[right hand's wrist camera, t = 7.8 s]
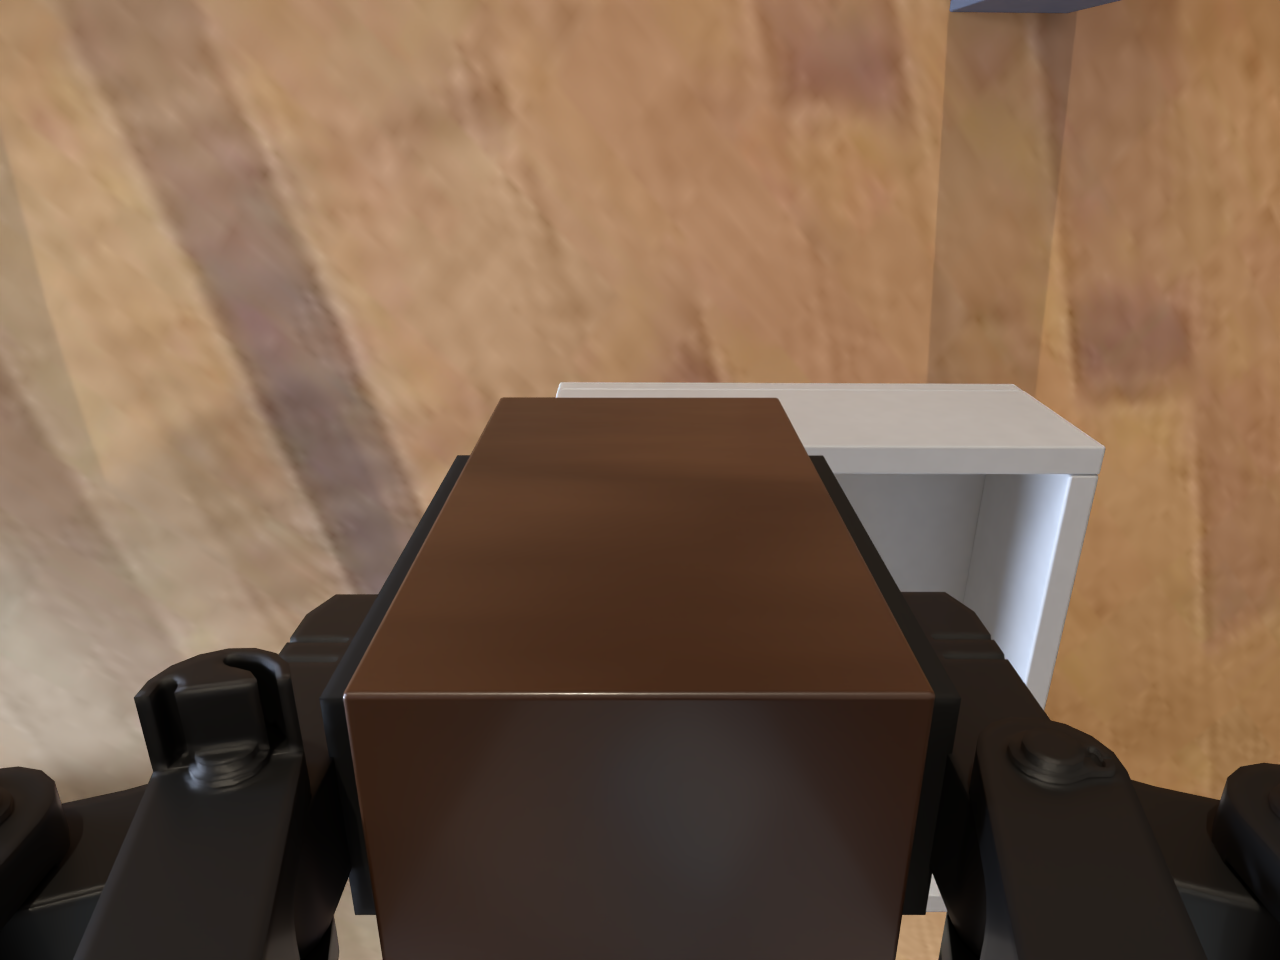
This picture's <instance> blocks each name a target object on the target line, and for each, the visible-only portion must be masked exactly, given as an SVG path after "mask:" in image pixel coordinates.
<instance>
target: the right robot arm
mask: <svg viewBox="0 0 1280 960" xmlns="http://www.w3.org/2000/svg"><path fill="white" fill-rule="evenodd" d="M808 456H809V457H810V459H811V461H812V463H813V465H814V467H815V469H816V471H817V473H818V474H819V476H820V478H821V480H822V482H823V484H824V486H825V488H826V489H827V491H828V493H829V495H830V497H831V499H832V501H833V503H834V505H835V506H836V508H837V510H838V512H839V514H840V516H841V518H842V520H843V522H844V523H845V525H846V527H847V529H848V531H849V533H850V535H851V537H852V539H853V540H854V542H855V544H856V546H857V548H858V550H859V552H860V554H861V556H862V557H863V559H864V561H865V563H866V565H867V567H868V569H869V571H870V573H871V574H872V576H873V578H874V580H875V582H876V584H877V586H878V588H879V589H880V591H881V593H882V595H883V597H884V599H885V601H886V603H887V605H888V606H889V608H890V610H891V612H892V614H893V616H894V618H895V620H896V622H897V623H898V625H899V627H900V629H901V631H902V633H903V635H904V637H905V639H906V640H907V642H908V644H909V646H910V648H911V650H912V652H913V654H914V656H915V657H916V659H917V661H918V663H919V665H920V667H921V669H922V671H923V673H924V674H925V676H926V678H927V680H928V682H929V684H930V686H931V688H932V689H933V691H934V694H935V701H934V708H933V714H932V721H931V727H930V734H929V741H928V747H927V754H926V760H925V767H924V774H923V780H922V787H921V793H920V800H919V807H918V813H917V820H916V826H915V833H914V840H913V846H912V853H911V859H910V866H909V873H908V879H907V886H906V892H905V899H904V906H903V912H902V915H925V914H926V908H927V902H928V896H929V890H930V884H931V878H932V874H933V876H934V879H935V881H936V884H937V886H938V889H939V892H940V894H941V897H942V899H943V902H944V904H945V907H946V909H947V914H946V920H945V926H944V931H943V937H942V942H941V948H940V954H939V959H938V960H1280V765H1278V764H1269V763H1260V764H1254V765H1248V766H1242V767H1240V768H1238V769H1237V770H1236V771H1235V772H1234V773H1232V774H1231V775H1230V776H1229V777H1228V778H1227V781H1226V784H1225V787H1224V790H1223V794H1222V797H1221V800H1216V799H1211V798H1207V797H1202V796H1197V795H1193V794H1188V793H1183V792H1179V791H1174V790H1169V789H1165V788H1160V787H1155V786H1152V785H1148V784H1144V783H1141V782H1137V781H1134V780H1131V779H1130V777H1129V775H1128V772H1127V770H1126V769H1125V768H1124V766H1123V765H1122V763H1121V762H1120V761H1119V759H1118V758H1117V756H1116V755H1115V754H1114V752H1112V751H1111V750H1110V749H1108V748H1107V747H1106V746H1104V745H1103V744H1102V743H1100V742H1099V741H1098V740H1096V739H1095V738H1094V737H1092V736H1090V735H1088V734H1086V733H1084V732H1082V731H1079V730H1077V729H1075V728H1073V727H1071V726H1068V725H1066V724H1063V723H1059V722H1055V721H1051V720H1050V719H1049V717H1048V716H1047V714H1046V713H1045V712H1044V710H1043V709H1042V707H1041V706H1040V704H1039V703H1038V702H1037V700H1036V699H1035V697H1034V696H1033V694H1032V693H1031V692H1030V690H1029V689H1028V687H1027V686H1026V684H1025V683H1024V682H1023V680H1022V679H1021V677H1020V676H1019V674H1018V673H1017V672H1016V670H1015V669H1014V667H1013V666H1012V664H1011V663H1010V662H1009V660H1008V659H1005V658H1004V653H1003V652H1002V650H1001V649H1000V647H999V646H998V645H997V643H996V642H995V640H991V635H990V633H989V632H988V630H987V629H986V627H985V626H984V625H983V623H982V622H981V620H980V619H979V617H978V616H977V615H976V613H975V612H974V611H973V610H971V609H970V608H968V607H967V606H965V605H964V604H962V603H961V602H959V601H958V600H956V599H955V598H953V597H952V596H951V595H949V594H948V593H946V592H901V591H900V590H899V588H898V586H897V584H896V583H895V581H894V579H893V577H892V576H891V574H890V572H889V570H888V568H887V567H886V565H885V563H884V561H883V560H882V558H881V556H880V554H879V553H878V551H877V549H876V547H875V546H874V544H873V542H872V540H871V539H870V537H869V535H868V533H867V532H866V530H865V528H864V526H863V525H862V523H861V521H860V519H859V518H858V516H857V514H856V512H855V511H854V509H853V507H852V505H851V504H850V502H849V500H848V498H847V496H846V495H845V493H844V491H843V489H842V488H841V486H840V484H839V482H838V481H837V479H836V477H835V475H834V474H833V472H832V470H831V468H830V467H829V465H828V463H827V461H826V460H825V458H824V456H823V455H808ZM469 457H470V455H457V457H456V459H455V461H454V462H453V464H452V466H451V468H450V469H449V471H448V473H447V475H446V476H445V478H444V480H443V482H442V483H441V485H440V487H439V489H438V491H437V492H436V494H435V496H434V498H433V499H432V501H431V503H430V505H429V506H428V508H427V510H426V512H425V513H424V515H423V517H422V519H421V520H420V522H419V524H418V526H417V527H416V529H415V531H414V533H413V534H412V536H411V538H410V540H409V541H408V543H407V545H406V547H405V549H404V550H403V552H402V554H401V556H400V557H399V559H398V561H397V563H396V564H395V566H394V568H393V570H392V571H391V573H390V575H389V577H388V578H387V580H386V582H385V584H384V585H383V587H382V589H381V591H380V592H379V594H378V595H335V596H333V597H332V598H330V599H329V600H327V601H326V602H324V603H323V604H321V605H320V606H318V607H317V608H315V609H314V610H313V611H311V612H310V613H308V614H307V615H306V616H305V617H304V619H303V620H302V622H301V623H300V625H299V626H298V628H297V629H296V630H295V632H294V633H293V635H292V636H291V638H290V643H286V645H285V646H284V648H283V649H282V651H281V652H280V653H279V655H278V654H277V653H273V652H269V651H265V650H261V649H257V648H233V649H224V650H219V651H215V652H210V653H205V654H200V655H197V656H195V657H192V658H190V659H187V660H185V661H182V662H180V663H177V664H175V665H172V666H170V667H169V668H167V669H166V670H164V671H163V672H161V673H159V674H158V675H156V676H155V677H153V678H152V679H150V680H149V681H148V682H147V683H146V684H145V685H144V686H143V688H142V689H141V690H140V691H139V692H138V693H137V695H136V696H135V697H134V700H135V704H136V708H137V711H138V715H139V719H140V723H141V727H142V731H143V734H144V738H145V742H146V746H147V750H148V753H149V757H150V761H151V765H152V769H153V774H152V776H151V778H150V781H149V783H148V784H146V785H142V786H139V787H135V788H132V789H128V790H124V791H119V792H115V793H110V794H105V795H101V796H96V797H91V798H87V799H82V800H77V801H73V802H68V803H63V804H61V801H60V797H59V794H58V791H57V788H56V785H55V782H54V781H53V780H52V779H51V778H50V777H49V776H47V775H46V774H45V773H44V772H43V771H42V770H36V769H30V768H24V767H10V768H1V769H0V960H338V957H339V945H338V938H337V931H336V926H335V920H334V913H335V910H336V908H337V905H338V903H339V900H340V898H341V895H342V892H343V890H344V887H345V885H346V882H347V880H348V877H349V881H350V887H351V893H352V899H353V905H354V911H355V915H376V911H375V905H374V898H373V892H372V885H371V878H370V872H369V865H368V859H367V852H366V846H365V839H364V832H363V826H362V819H361V813H360V806H359V800H358V793H357V786H356V780H355V773H354V767H353V760H352V754H351V747H350V740H349V734H348V727H347V721H346V714H345V708H344V701H343V694H344V691H345V689H346V688H347V686H348V684H349V682H350V680H351V678H352V676H353V674H354V673H355V671H356V669H357V667H358V665H359V663H360V661H361V659H362V658H363V656H364V654H365V652H366V650H367V648H368V646H369V644H370V643H371V641H372V639H373V637H374V635H375V633H376V631H377V629H378V628H379V626H380V624H381V622H382V620H383V618H384V616H385V614H386V613H387V611H388V609H389V607H390V605H391V603H392V601H393V599H394V598H395V596H396V594H397V592H398V590H399V588H400V586H401V584H402V583H403V581H404V579H405V577H406V575H407V573H408V571H409V569H410V568H411V566H412V564H413V562H414V560H415V558H416V556H417V554H418V553H419V551H420V549H421V547H422V545H423V543H424V541H425V539H426V538H427V536H428V534H429V532H430V530H431V528H432V526H433V524H434V523H435V521H436V519H437V517H438V515H439V513H440V511H441V509H442V508H443V506H444V504H445V502H446V500H447V498H448V496H449V494H450V493H451V491H452V489H453V487H454V485H455V483H456V481H457V479H458V478H459V476H460V474H461V472H462V470H463V468H464V466H465V464H466V463H467V461H468V459H469Z"/></svg>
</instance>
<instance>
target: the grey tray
mask: <svg viewBox="0 0 1280 960" xmlns="http://www.w3.org/2000/svg"><path fill="white" fill-rule="evenodd" d="M556 398H778V399H779V401H780V403H781V405H782V406H783V408H784V410H785V412H786V414H787V416H788V418H789V420H790V422H791V423H792V425H793V427H794V429H795V431H796V433H797V435H798V437H799V439H800V440H801V442H802V444H803V446H804V448H805V450H806V452H807V454H808V455H823V456H824V458H825V460H826V461H827V463H828V465H829V467H830V468H831V470H832V472H833V474H834V475H835V477H836V479H837V481H838V482H839V484H840V486H841V488H842V489H843V491H844V493H845V495H846V496H847V498H848V500H849V502H850V504H851V505H852V507H853V509H854V511H855V512H856V514H857V516H858V518H859V519H860V521H861V523H862V525H863V526H864V528H865V530H866V532H867V533H868V535H869V537H870V539H871V540H872V542H873V544H874V546H875V547H876V549H877V551H878V553H879V554H880V556H881V558H882V560H883V561H884V563H885V565H886V567H887V568H888V570H889V572H890V574H891V576H892V577H893V579H894V581H895V583H896V584H897V586H898V588H899V590H900V591H901V592H946V593H948V594H949V595H951V596H952V597H953V598H955V599H956V600H958V601H959V602H961V603H962V604H964V605H965V606H967V607H968V608H970V609H971V610H973V611H974V612H975V613H976V615H977V616H978V617H979V619H980V620H981V622H982V623H983V625H984V626H985V627H986V629H987V630H988V632H989V633H990V635H991V640H995V642H996V643H997V645H998V646H999V647H1000V649H1001V650H1002V652H1003V653H1004V658H1005V659H1008V660H1009V662H1010V663H1011V664H1012V666H1013V667H1014V669H1015V670H1016V672H1017V673H1018V674H1019V676H1020V677H1021V679H1022V680H1023V682H1024V683H1025V684H1026V686H1027V687H1028V689H1029V690H1030V692H1031V693H1032V694H1033V696H1034V697H1035V699H1036V700H1037V702H1038V703H1039V704H1040V706H1041V707H1042V709H1043V710H1044V709H1045V705H1046V701H1047V696H1048V692H1049V688H1050V683H1051V679H1052V675H1053V670H1054V666H1055V662H1056V658H1057V653H1058V649H1059V645H1060V640H1061V636H1062V632H1063V627H1064V623H1065V619H1066V614H1067V610H1068V606H1069V602H1070V597H1071V593H1072V589H1073V584H1074V580H1075V576H1076V571H1077V567H1078V563H1079V559H1080V554H1081V550H1082V546H1083V541H1084V537H1085V533H1086V528H1087V524H1088V520H1089V515H1090V511H1091V507H1092V503H1093V498H1094V494H1095V490H1096V485H1097V481H1098V475H1097V474H1099V473H1100V470H1101V465H1102V461H1103V457H1104V452H1105V446H1103V445H1102V444H1100V443H1099V442H1097V441H1096V440H1094V439H1093V438H1091V437H1090V436H1089V435H1087V434H1086V433H1084V432H1083V431H1081V430H1080V429H1078V428H1077V427H1076V426H1074V425H1073V424H1071V423H1070V422H1068V421H1067V420H1065V419H1064V418H1062V417H1061V416H1060V415H1058V414H1057V413H1055V412H1054V411H1052V410H1051V409H1049V408H1048V407H1047V406H1045V405H1044V404H1042V403H1041V402H1039V401H1038V400H1036V399H1035V398H1034V397H1032V396H1031V395H1029V394H1028V393H1026V392H1025V391H1023V390H1021V389H1020V388H1018V387H1017V386H1015V385H1014V384H873V383H638V382H561V383H560V384H559V388H558V391H557V395H556ZM926 912H947V909H946V907H945V904H944V902H943V899H942V897H941V894H940V892H939V889H938V886H937V884H936V881H935V879H934V876H933V874H932V878H931V884H930V890H929V896H928V902H927V908H926Z"/></svg>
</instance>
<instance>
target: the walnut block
mask: <svg viewBox="0 0 1280 960" xmlns="http://www.w3.org/2000/svg"><path fill="white" fill-rule="evenodd" d="M343 701H344V708H345V714H346V721H347V727H348V734H349V740H350V747H351V754H352V760H353V767H354V773H355V780H356V786H357V793H358V800H359V806H360V813H361V819H362V826H363V832H364V839H365V846H366V852H367V859H368V865H369V872H370V878H371V885H372V892H373V898H374V905H375V911H376V918H377V925H378V931H379V938H380V944H381V951H382V957H383V960H895V958H896V952H897V945H898V939H899V932H900V925H901V919H902V912H903V906H904V899H905V892H906V886H907V879H908V873H909V866H910V859H911V853H912V846H913V840H914V833H915V826H916V820H917V813H918V807H919V800H920V793H921V787H922V780H923V774H924V767H925V760H926V754H927V747H928V741H929V734H930V727H931V721H932V714H933V708H934V701H935V694H934V691H933V689H932V688H931V686H930V684H929V682H928V680H927V678H926V676H925V674H924V673H923V671H922V669H921V667H920V665H919V663H918V661H917V659H916V657H915V656H914V654H913V652H912V650H911V648H910V646H909V644H908V642H907V640H906V639H905V637H904V635H903V633H902V631H901V629H900V627H899V625H898V623H897V622H896V620H895V618H894V616H893V614H892V612H891V610H890V608H889V606H888V605H887V603H886V601H885V599H884V597H883V595H882V593H881V591H880V589H879V588H878V586H877V584H876V582H875V580H874V578H873V576H872V574H871V573H870V571H869V569H868V567H867V565H866V563H865V561H864V559H863V557H862V556H861V554H860V552H859V550H858V548H857V546H856V544H855V542H854V540H853V539H852V537H851V535H850V533H849V531H848V529H847V527H846V525H845V523H844V522H843V520H842V518H841V516H840V514H839V512H838V510H837V508H836V506H835V505H834V503H833V501H832V499H831V497H830V495H829V493H828V491H827V489H826V488H825V486H824V484H823V482H822V480H821V478H820V476H819V474H818V473H817V471H816V469H815V467H814V465H813V463H812V461H811V459H810V457H809V456H808V454H807V452H806V450H805V448H804V446H803V444H802V442H801V440H800V439H799V437H798V435H797V433H796V431H795V429H794V427H793V425H792V423H791V422H790V420H789V418H788V416H787V414H786V412H785V410H784V408H783V406H782V405H781V403H780V401H779V399H778V398H501V399H500V401H499V403H498V404H497V406H496V408H495V410H494V412H493V414H492V416H491V418H490V419H489V421H488V423H487V425H486V427H485V429H484V431H483V433H482V434H481V436H480V438H479V440H478V442H477V444H476V446H475V448H474V449H473V451H472V453H471V455H470V457H469V459H468V461H467V463H466V464H465V466H464V468H463V470H462V472H461V474H460V476H459V478H458V479H457V481H456V483H455V485H454V487H453V489H452V491H451V493H450V494H449V496H448V498H447V500H446V502H445V504H444V506H443V508H442V509H441V511H440V513H439V515H438V517H437V519H436V521H435V523H434V524H433V526H432V528H431V530H430V532H429V534H428V536H427V538H426V539H425V541H424V543H423V545H422V547H421V549H420V551H419V553H418V554H417V556H416V558H415V560H414V562H413V564H412V566H411V568H410V569H409V571H408V573H407V575H406V577H405V579H404V581H403V583H402V584H401V586H400V588H399V590H398V592H397V594H396V596H395V598H394V599H393V601H392V603H391V605H390V607H389V609H388V611H387V613H386V614H385V616H384V618H383V620H382V622H381V624H380V626H379V628H378V629H377V631H376V633H375V635H374V637H373V639H372V641H371V643H370V644H369V646H368V648H367V650H366V652H365V654H364V656H363V658H362V659H361V661H360V663H359V665H358V667H357V669H356V671H355V673H354V674H353V676H352V678H351V680H350V682H349V684H348V686H347V688H346V689H345V691H344V694H343Z"/></svg>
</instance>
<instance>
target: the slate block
mask: <svg viewBox="0 0 1280 960" xmlns="http://www.w3.org/2000/svg"><path fill="white" fill-rule="evenodd" d="M1116 1H1120V0H951V4H950V11H951V12H1013V13H1069V12H1074V11H1078V10H1082V9H1086V8H1090V7H1095V6H1099V5H1103V4H1107V3H1111V2H1116Z"/></svg>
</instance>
